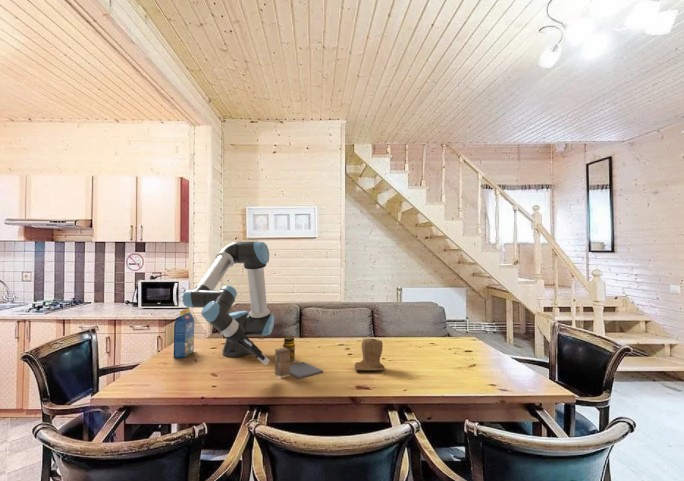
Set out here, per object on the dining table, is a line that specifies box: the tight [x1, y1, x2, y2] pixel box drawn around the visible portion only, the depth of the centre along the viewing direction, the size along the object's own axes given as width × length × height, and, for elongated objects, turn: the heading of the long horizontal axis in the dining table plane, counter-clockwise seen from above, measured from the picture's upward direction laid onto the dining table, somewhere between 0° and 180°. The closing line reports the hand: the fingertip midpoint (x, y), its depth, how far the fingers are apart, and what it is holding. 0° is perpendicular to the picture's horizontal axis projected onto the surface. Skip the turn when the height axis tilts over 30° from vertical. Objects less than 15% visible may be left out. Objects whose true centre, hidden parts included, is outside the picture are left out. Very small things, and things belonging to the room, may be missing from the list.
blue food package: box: [173, 307, 195, 359], centre depth 197 cm, size 6×12×25 cm, turn 1°
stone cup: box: [353, 337, 386, 372], centre depth 176 cm, size 15×12×15 cm
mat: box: [290, 361, 324, 379], centre depth 173 cm, size 17×14×1 cm
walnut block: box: [274, 347, 291, 379], centre depth 166 cm, size 5×5×12 cm
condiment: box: [282, 336, 298, 364], centre depth 188 cm, size 7×8×12 cm
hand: (267, 362), depth 161 cm, fingers closed
